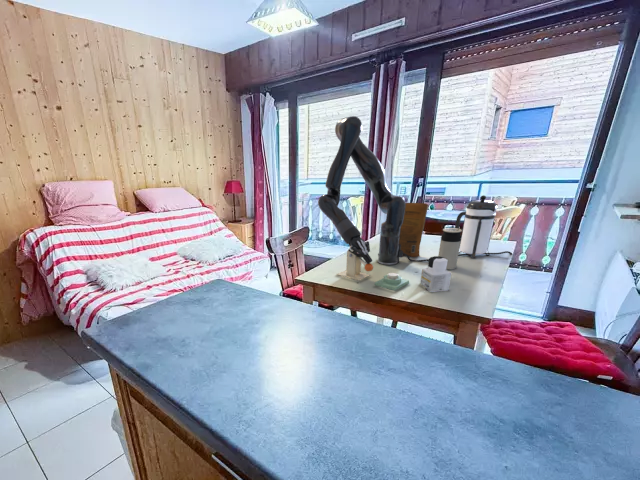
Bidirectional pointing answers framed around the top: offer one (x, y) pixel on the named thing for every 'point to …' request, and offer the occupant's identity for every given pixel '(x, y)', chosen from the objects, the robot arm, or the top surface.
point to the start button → (392, 276)
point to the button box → (391, 283)
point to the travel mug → (450, 246)
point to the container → (436, 275)
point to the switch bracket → (353, 268)
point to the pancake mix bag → (413, 228)
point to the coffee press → (477, 226)
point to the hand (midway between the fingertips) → (370, 262)
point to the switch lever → (365, 264)
